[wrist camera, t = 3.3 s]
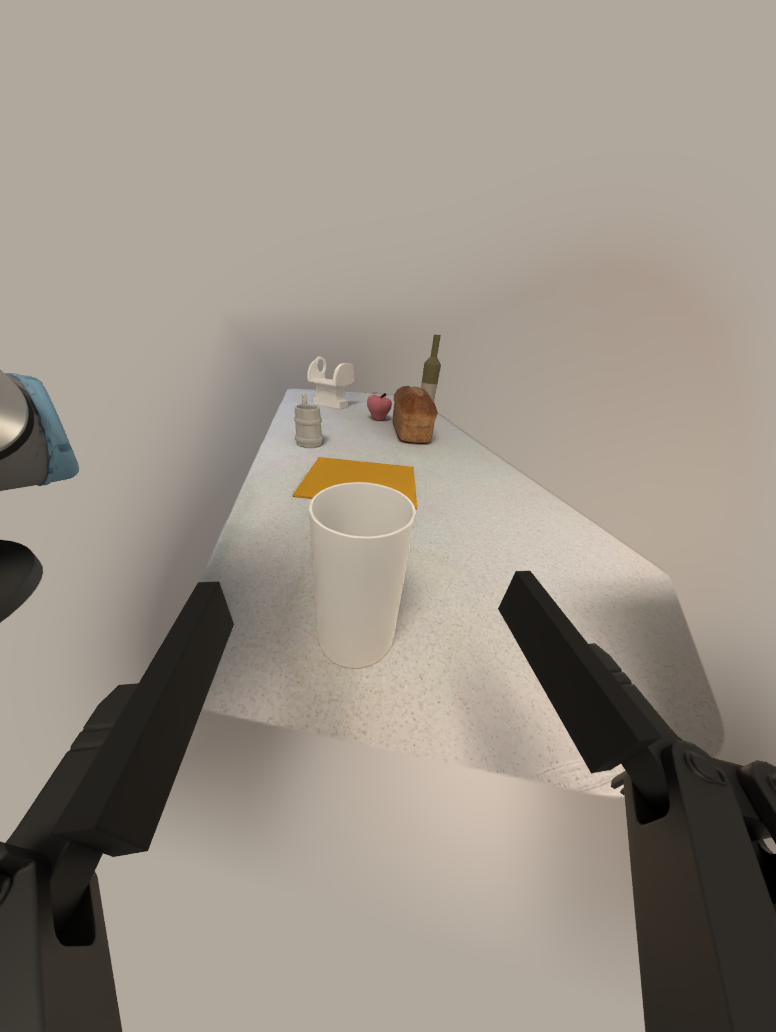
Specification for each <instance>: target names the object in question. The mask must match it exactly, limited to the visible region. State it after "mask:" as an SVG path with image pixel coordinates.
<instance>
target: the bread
mask: <svg viewBox="0 0 776 1032" xmlns="http://www.w3.org/2000/svg"><path fill="white" fill-rule="evenodd" d="M394 402H395V403H394V410H393V422H394V425H395V429H396V431H397V434H398V436H399V438H400V439H401V440H403V441H407V442H414V443H426V442H428V441H430V440H431V437H432V433H433V428H434V421H435V419H436V416H437V410H436V406H435V404H434V402H433V400H432V399H431V397H430V395H429V394H428V393H427V392H426V390H425V389H422V388H418V387H410V386H403V387H401V388H400V389H398V390H397V391H396V393H395V394H394Z"/></svg>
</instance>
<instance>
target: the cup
mask: <svg viewBox="0 0 776 1032" xmlns="http://www.w3.org/2000/svg"><path fill="white" fill-rule="evenodd" d="M415 513H416V511H415V507H414V505H413V503H412V502H411V500H410V499H409V498H408V497H406V496H405V495H404V494H402V493H401V492H399V491H397V490H395V489H392V488H390V487H387V486H383V485H379V484H373V483H363V482H353V483H344V484H338V485H334V486H331V487H328V488H326V489H324V490H322V491H320V492H319V493H318V494H316V495H315V496H314V497H313V499H312V500H311V502H310V506H309V520H310V534H311V548H312V561H313V575H314V588H315V602H316V615H317V628H318V640H319V644H320V647H321V649H322V651H323V653H324V654H325V655H326V656H327V657H328V658H329V659H330V660H331V661H332V662H334V663H335V664H338V665H340V666H343V667H346V668H363V667H367V666H370V665H372V664H375V663H376V662H378V661H379V660H381V659H382V658H383V657H384V656H385V655H386V654H387V652H388V651H389V649H390V648H391V645H392V643H393V639H394V634H395V628H396V623H397V617H398V611H399V606H400V600H401V595H402V589H403V584H404V578H405V573H406V567H407V562H408V556H409V551H410V545H411V540H412V534H413V528H414V523H415Z"/></svg>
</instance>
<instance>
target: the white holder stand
mask: <svg viewBox="0 0 776 1032" xmlns="http://www.w3.org/2000/svg"><path fill="white" fill-rule="evenodd" d="M320 359H321V360H322V361H323V365H324V367H323V370H322V371H321V372H320V371H319V370H318V366H317V365H318V361H319V360H320ZM325 371H326V361H325V359H324V358H323V357H321V356H319V357H317V358H316V360H314V361H313V362H312V363H311V365H310V367H309V370H308V381H310V382H315V383H316V396H313V401H314V404H319V405H323V406H328V407H332V408H336V409H342V408H346V407H348V400H344V395H345V390H344V389H345V385H350V383H353V382H354V368H353V365H352V364H349V363H342V364H340V365H338V367H337V368H336V370H335V372H334V376H333V380H330V379H325Z"/></svg>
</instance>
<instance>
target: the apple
mask: <svg viewBox="0 0 776 1032" xmlns="http://www.w3.org/2000/svg"><path fill="white" fill-rule="evenodd" d="M385 396H386V393H384V394H383V395H382V396H381V397H380V396H376V395H373V396H369V397H368V400H367V406H368V409H369V411H370V413H371V415H372V417H373V418H374V419H375V420H383V419H385V417H386V416H387V414H388V413H389V411H390V409H391V406H392V403H391V400H390V399H388V398H385Z"/></svg>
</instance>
